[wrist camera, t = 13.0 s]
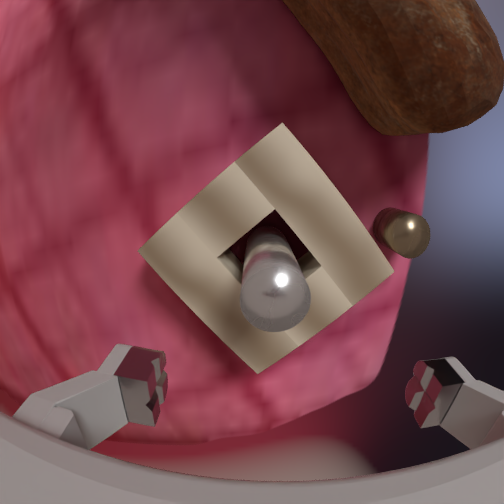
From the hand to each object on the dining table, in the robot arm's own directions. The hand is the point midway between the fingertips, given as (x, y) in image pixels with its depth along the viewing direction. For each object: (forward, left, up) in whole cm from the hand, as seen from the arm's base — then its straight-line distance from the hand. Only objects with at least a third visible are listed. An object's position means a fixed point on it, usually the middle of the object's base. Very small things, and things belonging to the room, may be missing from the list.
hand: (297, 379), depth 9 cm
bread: (-21, -13, -19) cm, 31 cm away
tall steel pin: (0, 0, -19) cm, 19 cm away
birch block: (0, 0, -19) cm, 19 cm away
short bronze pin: (-10, +6, -19) cm, 22 cm away
